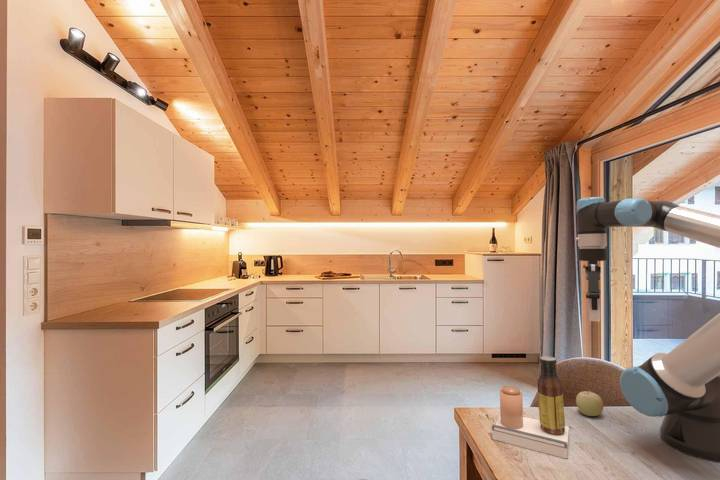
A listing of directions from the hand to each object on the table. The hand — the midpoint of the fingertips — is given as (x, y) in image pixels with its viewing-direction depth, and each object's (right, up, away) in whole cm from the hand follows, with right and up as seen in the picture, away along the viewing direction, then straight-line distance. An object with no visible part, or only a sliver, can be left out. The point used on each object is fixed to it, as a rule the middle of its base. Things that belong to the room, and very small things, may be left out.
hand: (594, 317), depth 109 cm
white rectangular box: (-24, -32, -9) cm, 41 cm away
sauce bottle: (-19, -29, -10) cm, 36 cm away
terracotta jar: (-28, -29, -6) cm, 41 cm away
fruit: (+1, -32, +4) cm, 32 cm away
